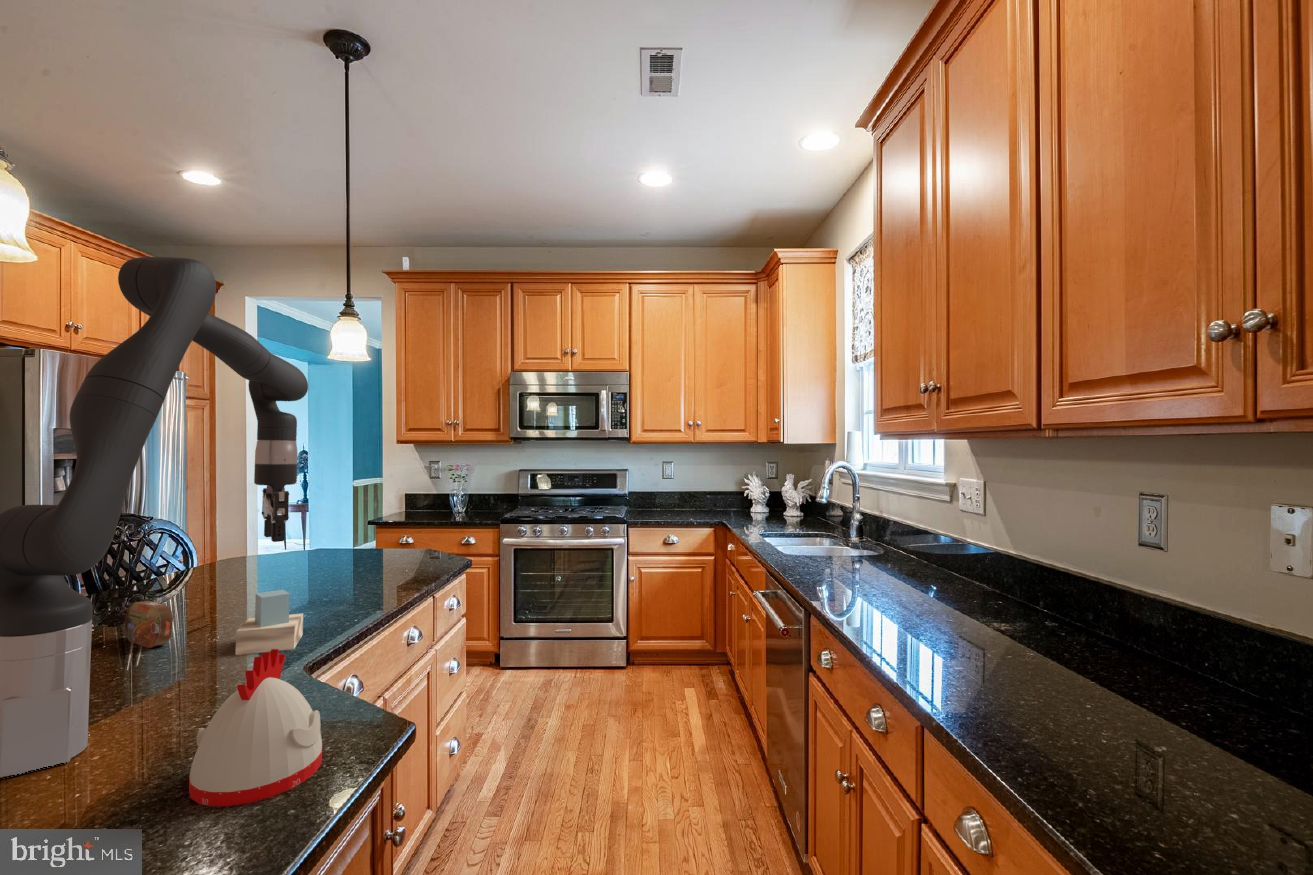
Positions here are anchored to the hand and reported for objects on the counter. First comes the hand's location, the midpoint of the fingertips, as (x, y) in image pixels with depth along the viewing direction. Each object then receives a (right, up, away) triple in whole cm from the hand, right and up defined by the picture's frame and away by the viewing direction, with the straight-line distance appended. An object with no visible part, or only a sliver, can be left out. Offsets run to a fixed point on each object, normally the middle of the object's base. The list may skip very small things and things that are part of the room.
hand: (274, 539), depth 122 cm
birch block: (0, -22, 0) cm, 22 cm away
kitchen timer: (+30, -22, -49) cm, 61 cm away
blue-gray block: (0, -17, -1) cm, 17 cm away
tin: (-26, -22, -1) cm, 34 cm away
